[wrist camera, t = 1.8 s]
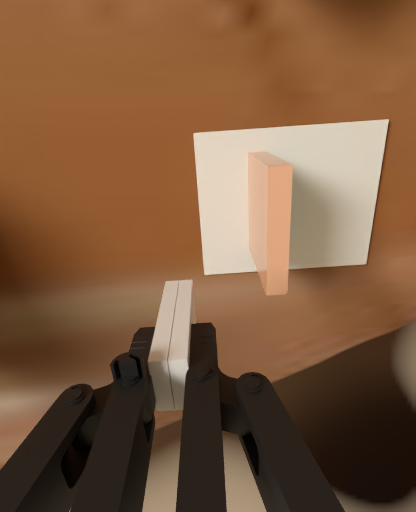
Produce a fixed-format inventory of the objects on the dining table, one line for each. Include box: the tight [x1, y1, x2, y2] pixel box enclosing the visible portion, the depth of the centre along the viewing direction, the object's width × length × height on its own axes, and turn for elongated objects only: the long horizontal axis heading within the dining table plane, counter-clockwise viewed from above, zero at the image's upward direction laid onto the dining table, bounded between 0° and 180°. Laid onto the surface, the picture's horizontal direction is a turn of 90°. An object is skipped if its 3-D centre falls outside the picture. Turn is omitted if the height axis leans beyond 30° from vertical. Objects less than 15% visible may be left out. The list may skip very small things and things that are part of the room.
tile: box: [248, 151, 293, 295], centre depth 33 cm, size 2×12×12 cm, turn 4°
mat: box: [193, 119, 389, 275], centre depth 39 cm, size 22×18×1 cm
